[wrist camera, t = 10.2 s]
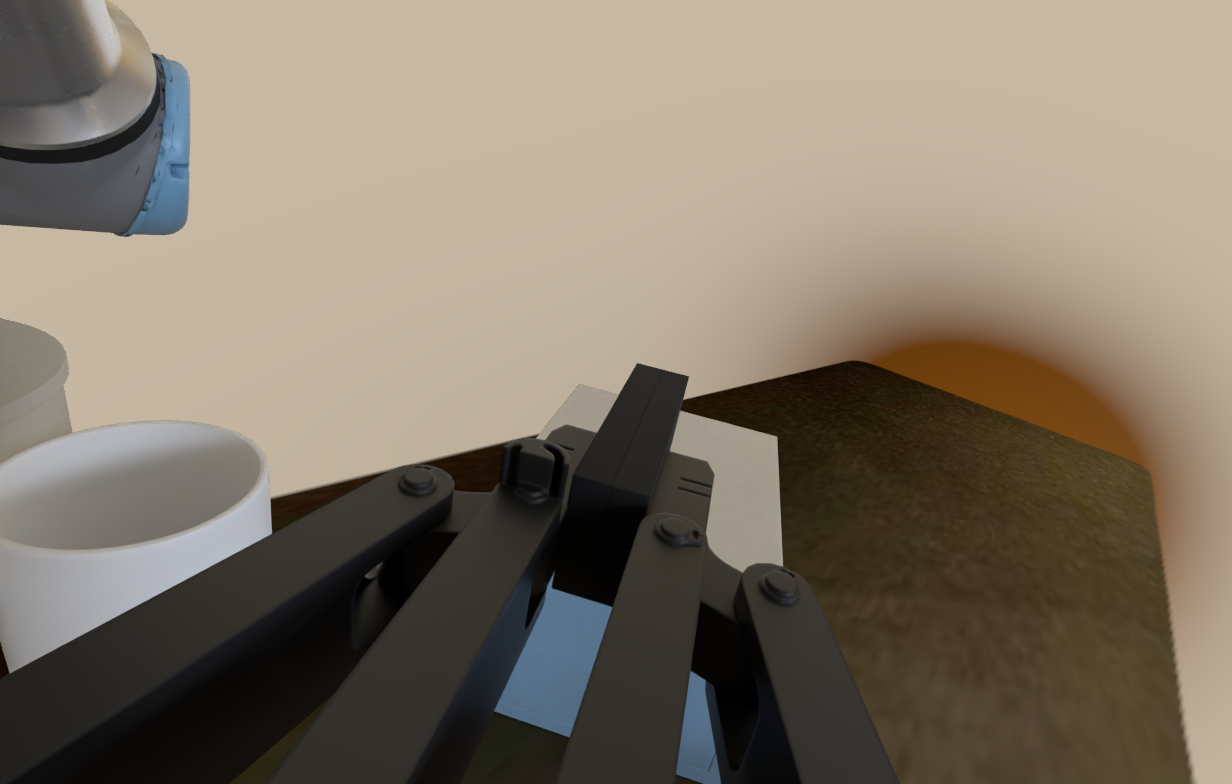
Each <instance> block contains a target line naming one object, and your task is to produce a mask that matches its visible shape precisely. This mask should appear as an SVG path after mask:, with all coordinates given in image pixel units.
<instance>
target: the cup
mask: <svg viewBox="0 0 1232 784" xmlns="http://www.w3.org/2000/svg"><path fill="white" fill-rule="evenodd" d="M271 534H272V527H271V504H270V482H269V465H268V460H267V458H266V455H265V454H264V452H263V451H262V449H261V448H260V447H259V446H258V445H257V444H256V443H254V442H253V441H252V440H250V439H249V438H247V437H245V436H244V435H242V434H240V433H237V432H235V431H232V430H229V429H226V428H223V427H219V426H214V425H210V424H204V423H196V422H186V421H142V422H141V421H140V422H129V423H120V424H114V425H107V426H101V427H96V428H91V429H86V430H83V431H78V432H74V433H70V434H67V435H63V436H60V437H57V438H54V439H51V440H48V441H45V442H42V443H40V444H37V445H35V446H32V447H30V448H28V449H26V450H23V451H21V452H19V453H17V454H15V455H13V456H11V457H10V458H8V459H6V460H5V461H3V462H1V463H0V642H1V645H2V649H3V652H4V656H5V659H6V662H7V666H8V669H9V673H12V672H13V671H15V670H17V669H19V668H21V667H23V666H25V665H27V664H28V663H30V662H32V661H34V660H36V659H38V658H40V657H42V656H43V655H45V654H47V653H49V652H51V651H53V650H55V649H57V648H58V647H60V646H62V645H64V644H66V643H68V642H70V641H72V640H74V639H75V638H77V637H79V636H81V635H83V634H85V633H87V632H89V631H90V630H92V629H94V628H96V627H98V626H100V625H102V624H104V623H105V622H107V621H109V620H111V619H113V618H115V617H117V616H119V615H120V614H122V613H124V612H126V611H128V610H130V609H132V608H134V607H135V606H137V605H139V604H141V603H143V602H145V601H147V600H149V599H150V598H152V597H154V596H156V595H158V594H160V593H162V592H164V591H165V590H167V589H169V588H171V587H173V586H175V585H177V584H179V583H181V582H182V581H184V580H186V579H188V578H190V577H192V576H194V575H196V574H197V573H199V572H201V571H203V570H205V569H207V568H209V567H211V566H212V565H214V564H216V563H218V562H220V561H222V560H224V559H226V558H227V557H229V556H231V555H233V554H235V553H237V552H239V551H241V550H242V549H244V548H246V547H248V546H250V545H252V544H254V543H256V542H257V541H259V540H261V539H263V538H265V537H267V536H269V535H271Z"/></svg>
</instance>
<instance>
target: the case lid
mask: <svg viewBox="0 0 1232 784" xmlns="http://www.w3.org/2000/svg"><path fill="white" fill-rule="evenodd" d="M618 396H619V394H615V393H612V392H608V391H604V390H601V389H597V388H593V387H589V386H586V385H582V384H579V385H578V386H577V387H576V389H575V390H574V391H573V392H572V394H571V395H570V396H569V397H568V399H567V400H566V401H565V403H564V404H563V405H562V406H561V408H560V409H559V410H558V411H557V413H556V414H555V415H554V416H553V418H552V419H551V420H550V422H549V423H548V424H547V425H546V426H545V428H544V429H543V430H542V432H541V433H540V434H539V435H538V437H537V438H536V439H542V440H545V439H546V438H547V437H548V435H549V434H550V433H551V431H553V430H555V429H557V428H559V427H562V426H564V425H566V424H567V425H571V426H575V427H578V428H582V429H585V430H589V431H593V432H596V433H597V432H598V430H599V428H600V427H601V425H602V423H603V422H604V420H605V418H606V416H607V415H608V413H609V411H610V409H611V408H612V406H613V404H614V403H615V401H616V399H617V397H618ZM670 451H671V452H675V453H678V454H682V455H686V456H689V457H693V458H697V459H700V460H704V461H708V463H709V465H710V467H711V469H712V471H713V472H714V474H715V475H714V482H713V487H712V495H711V502H710V509H709V516H708V523H707V530H706V535H707V539H708V545H709V547H710V548H711V550H712V551H713V552H714V554H715V555H716V556H718V557H719V558H720V559H721V560H722V561H724V562H725V563H727V564H728V565H730V566H732V567H733V568H735V569H737V570H739V571H741V572H744V571H745V569H746V568H747V567H748V566H751V565H753V564H756V563H771V564H775V565H779V566H782V567H783V558H782V536H781V514H780V493H779V471H778V449H777V437H776V436H772V435H768V434H764V433H761V432H757V431H753V430H750V429H746V428H742V427H738V426H735V425H731V424H727V423H724V422H720V421H716V420H712V419H709V418H705V417H701V416H697V415H694V414H690V413H686V412H683V411H680V413H679V417H678V421H677V425H676V429H675V433H674V437H673V441H672V444H671V448H670Z"/></svg>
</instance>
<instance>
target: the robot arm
mask: <svg viewBox="0 0 1232 784" xmlns="http://www.w3.org/2000/svg"><path fill="white" fill-rule="evenodd" d="M189 82H190V81H189V76H188V73H187V70H186V69H185V68H184V67H183V66H182V65H181V64H180V63H178V62H176V61H171V60H169V59H166V58H165V57H164V56H163V55H158V54H154V53H151V51H150V48H149V45H148V43H147V41H146V40H145V38H144V36H143V35H142V33H141V31H140V30H139V29H138V28H137V27H136V25H135V24H134V23H133V22H132V20H131V19H130V18H128V16H127V15H125V13H124V12H123V11H122V10H120V9H119V8H118V7H117V6H116V5H114V4H113V3H112V2H111V1H109V0H0V224H1V225H13V226H27V227H42V228H55V229H69V230H82V231H96V232H110V233H114V234H116V235H118V236H123V237H127V236H131V235H133V234H146V235H147V234H148V235H169V234H173V233H175V232H177V231H179V230H180V229H181V228H182V227H183V226H184V225H185V223H186V220H187V215H188V200H189V154H190V84H189ZM688 378H689V377H688V376H685V375H681V374H677V373H673V372H669V371H665V370H662V369H658V368H654V367H650V366H646V365H642V364H638V363H637V365H636V366H635V368H634V370H633V372H632V373H631V375H630V377H629V379H628V380H627V382H626V384H625V385H624V387H623V389H622V390H621V392H620V394H619V396H618V397H617V399H616V401H615V403H614V404H613V406H612V408H611V409H610V411H609V413H608V415H607V416H606V418H605V420H604V422H603V423H602V425H601V427H600V428H599V430H598V432H597V433H596V432H593V431H589V430H585V429H582V428H578V427H575V426H571V425H567V424H566V425H564V426H562V427H559V428H557V429H555V430H553V431H551V433H550V434H549V435H548V437H547V438H546V439H545V440H542V439H536V438H521V439H518V440H514V441H510V442H509V443H508V444H506V445H505V446H503V454H502V461H501V469H500V476H499V483H498V484H497V486H496V487H495V488H494V489H493V491H492V492H464V491H454V483H455V482H454V481H453V479H452V477H451V475H450V474H448V473H447V472H445V471H444V470H442V469H440V468H436V467H433V466H430V465H422V464H415V465H407V466H401V467H399V468H396V469H393V470H391V471H389V472H387V473H385V474H383V475H381V476H379V477H378V478H376V479H374V480H372V481H370V482H368V483H366V484H364V485H363V486H361V487H359V488H357V489H355V490H353V491H351V492H349V493H348V494H346V495H344V496H342V497H340V498H338V499H336V500H334V501H333V502H331V503H329V504H327V505H325V506H323V507H321V508H319V509H318V510H316V511H314V512H312V513H310V514H308V515H306V516H304V517H303V518H301V519H299V520H297V521H295V522H293V523H291V524H289V525H288V526H286V527H284V528H282V529H280V530H278V531H276V532H274V533H272V534H271V535H269V536H267V537H265V538H263V539H261V540H259V541H257V542H256V543H254V544H252V545H250V546H248V547H246V548H244V549H242V550H241V551H239V552H237V553H235V554H233V555H231V556H229V557H227V558H226V559H224V560H222V561H220V562H218V563H216V564H214V565H212V566H211V567H209V568H207V569H205V570H203V571H201V572H199V573H197V574H196V575H194V576H192V577H190V578H188V579H186V580H184V581H182V582H181V583H179V584H177V585H175V586H173V587H171V588H169V589H167V590H165V591H164V592H162V593H160V594H158V595H156V596H154V597H152V598H150V599H149V600H147V601H145V602H143V603H141V604H139V605H137V606H135V607H134V608H132V609H130V610H128V611H126V612H124V613H122V614H120V615H119V616H117V617H115V618H113V619H111V620H109V621H107V622H105V623H104V624H102V625H100V626H98V627H96V628H94V629H92V630H90V631H89V632H87V633H85V634H83V635H81V636H79V637H77V638H75V639H74V640H72V641H70V642H68V643H66V644H64V645H62V646H60V647H58V648H57V649H55V650H53V651H51V652H49V653H47V654H45V655H43V656H42V657H40V658H38V659H36V660H34V661H32V662H30V663H28V664H27V665H25V666H23V667H21V668H19V669H17V670H15V671H13V672H12V673H10V674H8V675H6V676H4V677H2V678H0V784H229V783H230V782H232V781H233V780H234V779H235V778H236V777H237V776H239V775H240V774H241V773H242V772H243V771H244V770H246V769H247V768H248V767H249V766H250V765H251V764H253V763H254V762H255V761H256V760H257V759H258V758H260V757H261V756H262V755H263V754H264V753H265V752H267V751H268V750H269V749H270V748H271V747H272V746H274V745H275V744H276V743H277V742H278V741H279V740H281V739H282V738H283V737H284V736H285V735H286V734H288V733H289V732H290V731H291V730H292V729H293V728H295V727H296V726H297V725H298V724H299V723H300V722H302V721H303V720H304V719H305V718H306V717H307V716H309V715H310V714H311V713H312V712H313V711H314V710H316V709H317V708H318V707H319V706H320V705H321V704H323V703H324V702H325V701H326V700H327V699H328V698H330V697H331V696H332V695H333V694H334V695H333V696H332V697H331V698H330V700H329V701H328V702H327V703H326V705H325V706H324V707H323V709H322V710H321V711H320V712H319V714H318V715H317V716H316V718H315V719H314V720H313V721H312V723H311V724H310V725H309V727H308V728H307V729H306V730H305V732H304V733H303V734H302V736H301V737H300V738H299V739H298V741H297V742H296V743H295V745H294V746H293V747H292V748H291V750H290V751H289V752H288V753H287V755H286V756H285V757H284V759H283V760H282V761H281V762H280V764H279V765H278V766H277V768H276V769H275V770H274V771H273V773H272V774H271V775H270V777H269V778H268V779H267V780H266V782H265V783H264V784H460V782H461V780H462V778H463V776H464V774H465V772H466V770H467V767H468V765H469V763H470V761H471V759H472V757H473V755H474V753H475V751H476V748H477V746H478V744H479V742H480V740H481V738H482V736H483V734H484V731H485V729H486V727H487V725H488V723H489V721H490V719H491V717H492V714H493V712H494V710H495V708H496V706H497V704H498V702H499V700H500V698H501V695H502V693H503V691H504V689H505V687H506V685H507V683H508V681H509V678H510V676H511V674H512V672H513V670H514V668H515V666H516V664H517V661H518V659H519V657H520V655H521V653H522V651H523V649H524V647H525V645H526V642H527V640H528V638H529V636H530V634H531V632H532V630H533V628H534V625H535V623H536V621H537V619H538V617H539V615H540V613H541V611H542V608H543V606H544V602H545V596H546V591H547V586H548V584H549V582H550V580H551V578H552V576H553V574H554V577H553V582H552V589H555V590H559V591H562V592H565V593H568V594H571V595H575V596H578V597H581V598H584V599H587V600H591V601H594V602H597V603H600V604H604V605H607V606H610V607H612V610H611V613H610V616H609V619H608V622H607V625H606V628H605V631H604V634H603V637H602V640H601V643H600V646H599V649H598V653H597V656H596V659H595V662H594V665H593V668H592V671H591V674H590V677H589V680H588V683H587V686H586V689H585V692H584V695H583V698H582V701H581V704H580V707H579V710H578V713H577V716H576V719H575V722H574V725H573V728H572V731H571V734H570V738H569V741H568V744H567V747H566V750H565V753H564V756H563V759H562V762H561V765H560V768H559V771H558V774H557V777H556V780H555V783H554V784H675V778H676V771H677V764H678V757H679V749H680V742H681V735H682V728H683V721H684V714H685V706H686V699H687V692H688V685H689V678H690V671H691V672H693V673H695V674H696V675H698V676H699V677H701V678H703V679H704V680H706V683H705V694H706V700H707V705H708V711H709V717H710V723H711V728H712V734H713V740H714V745H715V751H716V757H717V763H718V768H719V774H720V780H721V784H900V783H899V781H898V779H897V776H896V774H895V772H894V770H893V767H892V765H891V763H890V761H889V758H888V756H887V754H886V752H885V749H884V747H883V745H882V743H881V740H880V738H879V736H878V733H877V731H876V729H875V727H874V724H873V722H872V720H871V718H870V715H869V713H868V711H867V709H866V706H865V704H864V702H863V700H862V697H861V695H860V693H859V691H858V688H857V686H856V684H855V681H854V679H853V677H852V675H851V672H850V670H849V668H848V666H847V663H846V661H845V659H844V657H843V654H842V652H841V650H840V648H839V645H838V643H837V641H836V639H835V636H834V634H833V632H832V629H831V627H830V625H829V623H828V620H827V618H826V616H825V614H824V611H823V609H822V607H821V605H820V602H819V600H818V598H817V596H816V593H815V592H814V590H813V589H812V588H811V586H810V585H809V583H808V582H807V581H805V580H804V579H803V578H802V577H801V576H799V575H798V574H797V573H795V572H793V571H791V570H789V569H787V568H785V567H782V566H779V565H775V564H771V563H756V564H753V565H751V566H748V567H747V568H746V569H745V571H744V572H741V571H739V570H737V569H735V568H733V567H732V566H730V565H728V564H727V563H725V562H724V561H722V560H721V559H720V558H719V557H718V556H716V555H715V554H714V552H713V551H712V550H711V548H710V547H709V545H708V539H707V535H706V530H707V523H708V516H709V509H710V502H711V495H712V487H713V482H714V475H715V474H714V472H713V471H712V469H711V467H710V465H709V463H708V461H704V460H700V459H697V458H693V457H689V456H686V455H682V454H678V453H675V452H671V451H670V448H671V444H672V441H673V437H674V433H675V429H676V425H677V421H678V417H679V413H680V409H681V406H682V402H683V398H684V394H685V390H686V386H687V382H688ZM375 566H376V567H375ZM374 567H375V568H374ZM371 569H372V570H371ZM370 570H371V571H370Z"/></svg>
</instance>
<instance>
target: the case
mask: <svg viewBox="0 0 1232 784" xmlns="http://www.w3.org/2000/svg"><path fill="white" fill-rule="evenodd" d="M553 577H554V574H553V576H552V578H551V580H550V582H549V584H548V586H547V591H546V596H545V602H544V606H543V608H542V611H541V613H540V615H539V617H538V619H537V621H536V623H535V625H534V628H533V630H532V632H531V634H530V636H529V638H528V640H527V642H526V645H525V647H524V649H523V651H522V653H521V655H520V657H519V659H518V661H517V664H516V666H515V668H514V670H513V672H512V674H511V676H510V678H509V681H508V683H507V685H506V687H505V689H504V691H503V693H502V695H501V698H500V700H499V702H498V704H497V706H496V708H495V710H494V711H495V712H498V713H500V714H503V715H506V716H509V717H512V718H515V719H518V720H521V721H524V722H526V723H529V724H532V725H535V726H538V727H541V728H544V729H547V730H549V731H552V732H555V733H558V734H561V735H564V736H567V737H570V734H571V731H572V728H573V725H574V722H575V719H576V716H577V713H578V710H579V707H580V704H581V701H582V698H583V695H584V692H585V689H586V686H587V683H588V680H589V677H590V674H591V671H592V668H593V665H594V662H595V659H596V656H597V653H598V649H599V646H600V643H601V640H602V637H603V634H604V631H605V628H606V625H607V622H608V619H609V616H610V613H611V610H612V607H610V606H607V605H604V604H600V603H597V602H594V601H591V600H587V599H584V598H581V597H578V596H575V595H571V594H568V593H565V592H562V591H559V590H555V589H552V582H553ZM705 683H706V680H704V679H703V678H701V677H699V676H698V675H696V674H695V673H693V672H691V671H690V678H689V685H688V692H687V699H686V706H685V714H684V721H683V728H682V735H681V742H680V749H679V757H678V764H677V771H676V775H679V776H682V777H685V778H688V779H691V780H694V781H697V782H699V783H702V784H721V780H720V774H719V768H718V763H717V757H716V751H715V745H714V740H713V734H712V728H711V723H710V717H709V711H708V705H707V700H706V694H705Z"/></svg>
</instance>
